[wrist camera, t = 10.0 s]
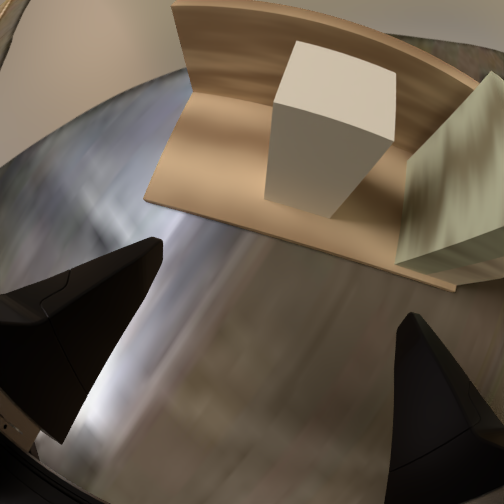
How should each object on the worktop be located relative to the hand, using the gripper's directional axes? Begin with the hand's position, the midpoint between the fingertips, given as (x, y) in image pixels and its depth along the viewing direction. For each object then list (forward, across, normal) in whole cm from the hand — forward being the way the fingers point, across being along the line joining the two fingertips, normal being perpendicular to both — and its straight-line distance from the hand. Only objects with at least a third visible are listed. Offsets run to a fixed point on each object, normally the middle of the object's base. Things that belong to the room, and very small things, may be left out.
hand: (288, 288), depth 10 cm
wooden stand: (+13, -2, 0) cm, 13 cm away
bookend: (+12, 0, 0) cm, 12 cm away
